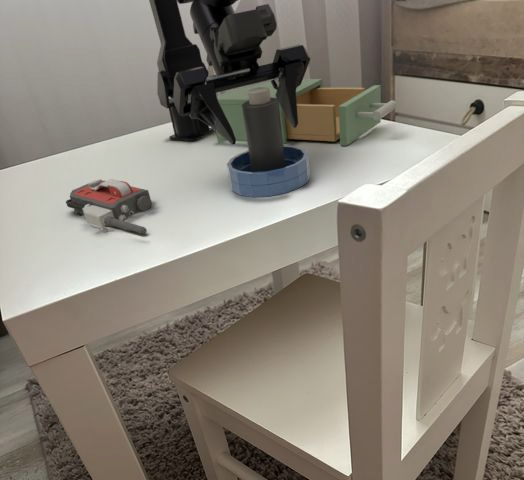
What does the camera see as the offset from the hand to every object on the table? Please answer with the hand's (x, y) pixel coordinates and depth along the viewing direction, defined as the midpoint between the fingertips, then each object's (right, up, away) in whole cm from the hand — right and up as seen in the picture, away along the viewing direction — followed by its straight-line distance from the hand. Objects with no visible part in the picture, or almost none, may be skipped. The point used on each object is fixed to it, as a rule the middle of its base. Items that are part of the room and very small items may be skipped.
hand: (265, 134), depth 71 cm
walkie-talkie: (-20, -10, +3) cm, 23 cm away
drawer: (+12, +8, +18) cm, 23 cm away
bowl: (+1, -6, +5) cm, 7 cm away
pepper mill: (+1, -5, +4) cm, 7 cm away
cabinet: (+1, +11, +26) cm, 28 cm away
